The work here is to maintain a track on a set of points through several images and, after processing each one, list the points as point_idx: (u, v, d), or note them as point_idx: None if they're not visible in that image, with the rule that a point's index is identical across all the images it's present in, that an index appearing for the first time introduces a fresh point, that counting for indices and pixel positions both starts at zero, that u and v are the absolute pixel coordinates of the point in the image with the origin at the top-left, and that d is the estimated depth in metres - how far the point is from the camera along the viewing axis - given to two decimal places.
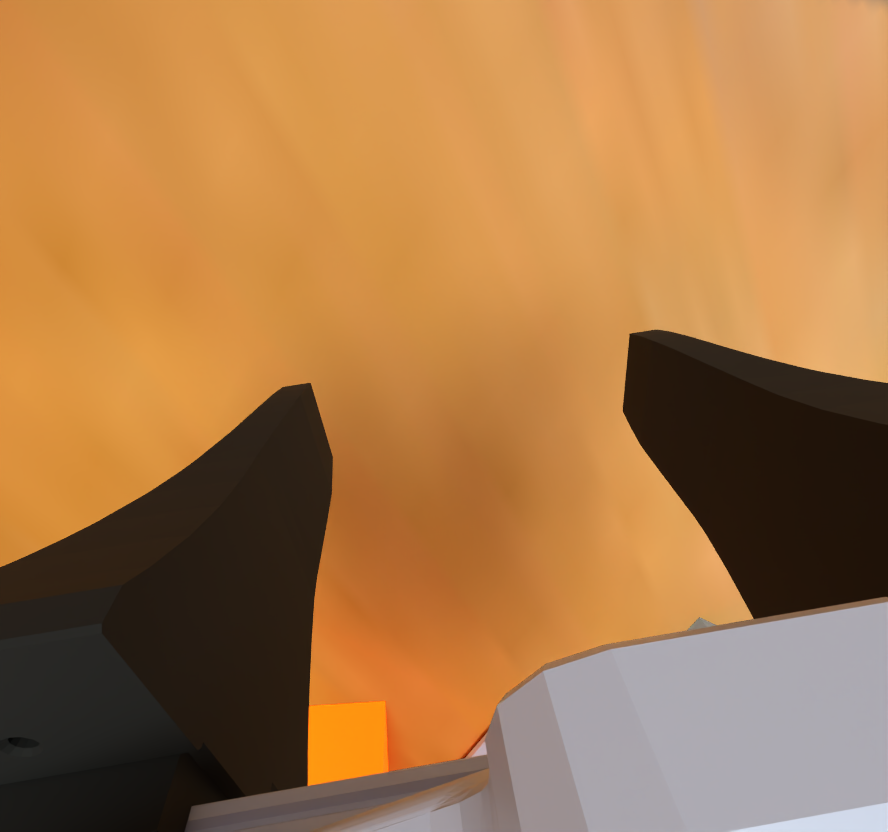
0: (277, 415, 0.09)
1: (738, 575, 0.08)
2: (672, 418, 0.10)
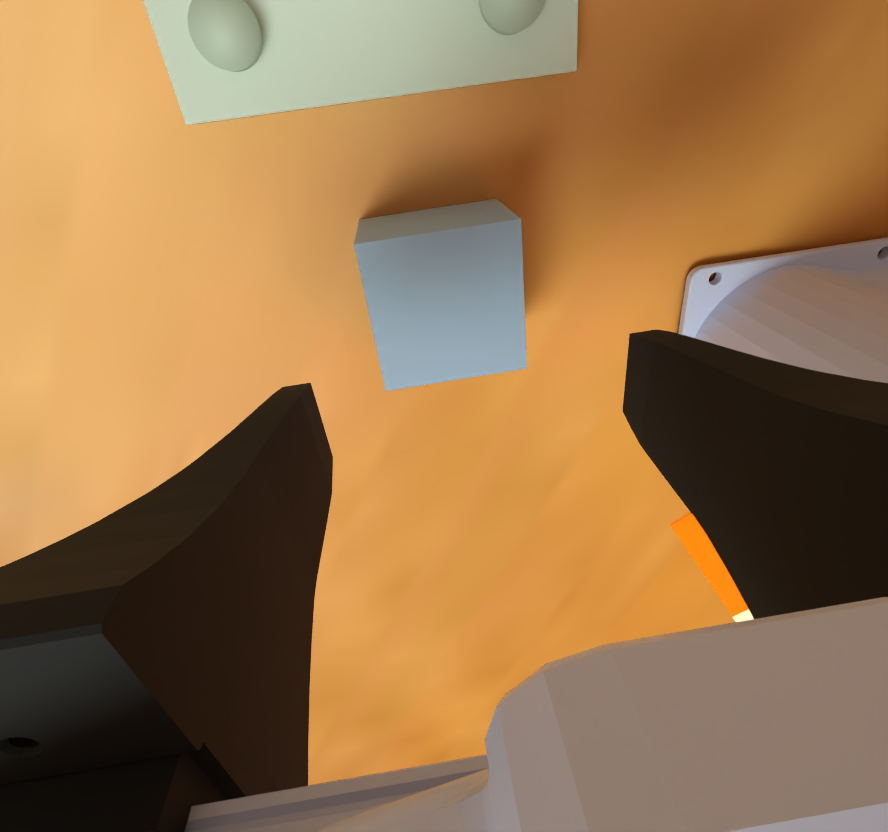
0: (277, 415, 0.09)
1: (738, 575, 0.08)
2: (672, 418, 0.10)
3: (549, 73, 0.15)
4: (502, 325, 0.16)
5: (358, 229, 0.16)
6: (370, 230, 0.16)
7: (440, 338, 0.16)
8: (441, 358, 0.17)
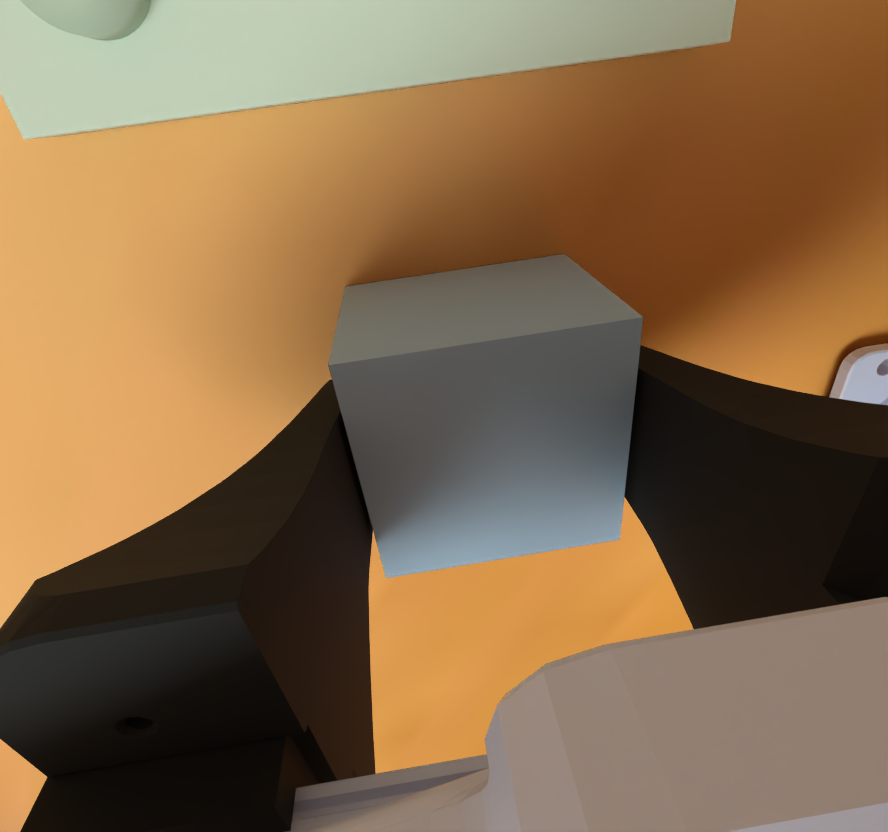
0: (334, 406, 0.09)
1: (680, 585, 0.08)
2: None
3: (682, 46, 0.08)
4: (588, 482, 0.10)
5: (340, 317, 0.09)
6: (361, 322, 0.09)
7: (480, 504, 0.10)
8: (480, 531, 0.10)
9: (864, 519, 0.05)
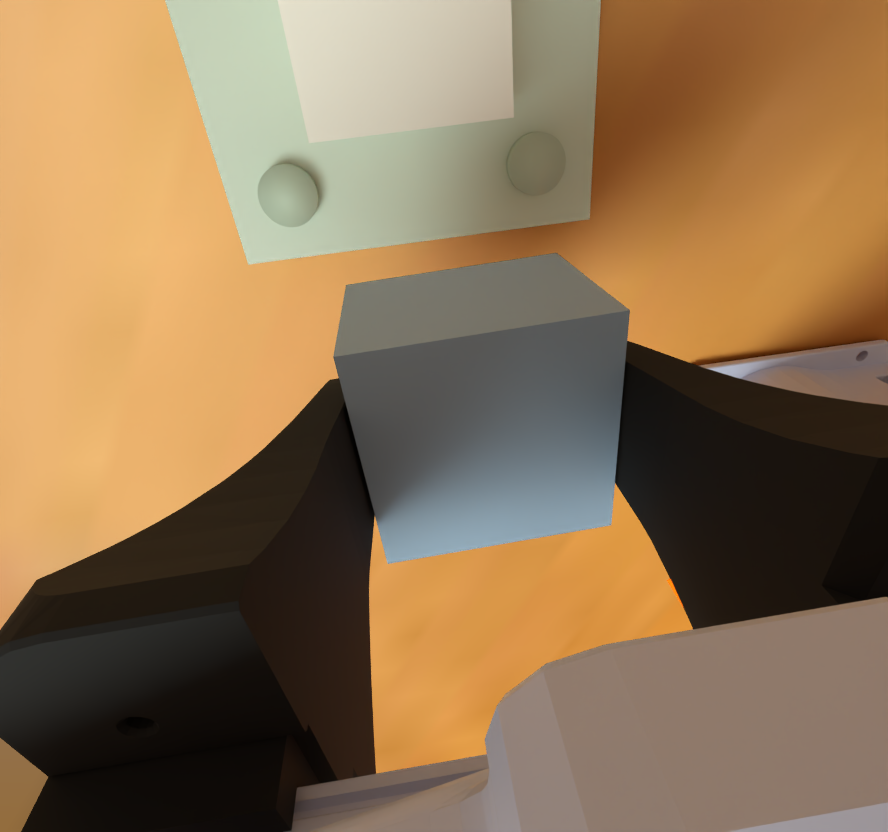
0: (334, 406, 0.09)
1: (680, 585, 0.08)
2: (621, 426, 0.10)
3: (566, 221, 0.17)
4: (580, 469, 0.10)
5: (343, 313, 0.10)
6: (363, 317, 0.10)
7: (478, 491, 0.10)
8: (478, 517, 0.10)
9: (862, 518, 0.05)
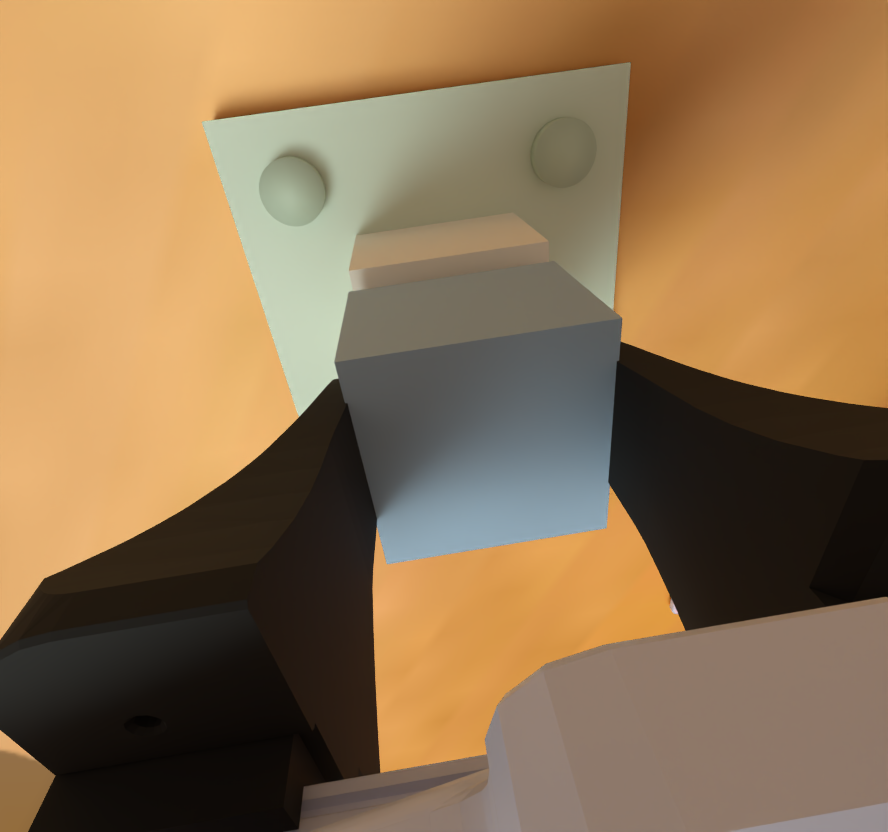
0: (338, 406, 0.09)
1: (672, 586, 0.08)
2: (615, 428, 0.10)
3: None
4: (575, 473, 0.10)
5: (345, 319, 0.10)
6: (364, 323, 0.10)
7: (475, 493, 0.10)
8: (475, 519, 0.11)
9: (849, 521, 0.05)
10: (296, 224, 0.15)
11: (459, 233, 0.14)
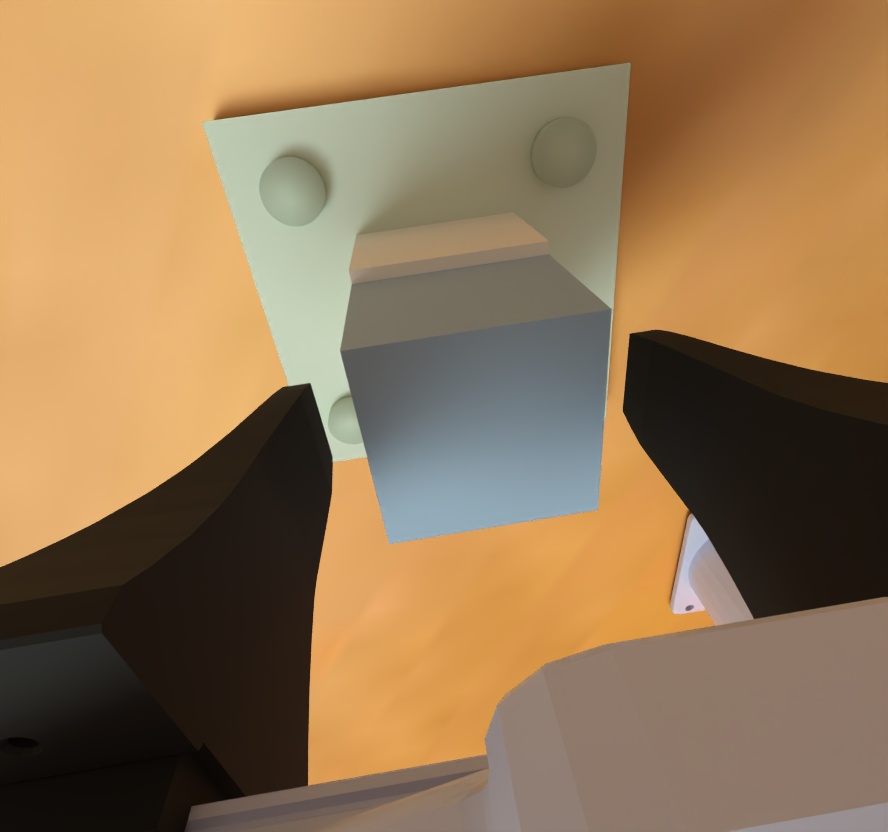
0: (277, 415, 0.09)
1: (738, 575, 0.08)
2: (672, 418, 0.10)
3: None
4: (568, 456, 0.11)
5: (349, 310, 0.11)
6: (367, 314, 0.10)
7: (473, 476, 0.11)
8: (473, 501, 0.11)
9: None
10: (296, 224, 0.15)
11: (459, 233, 0.14)
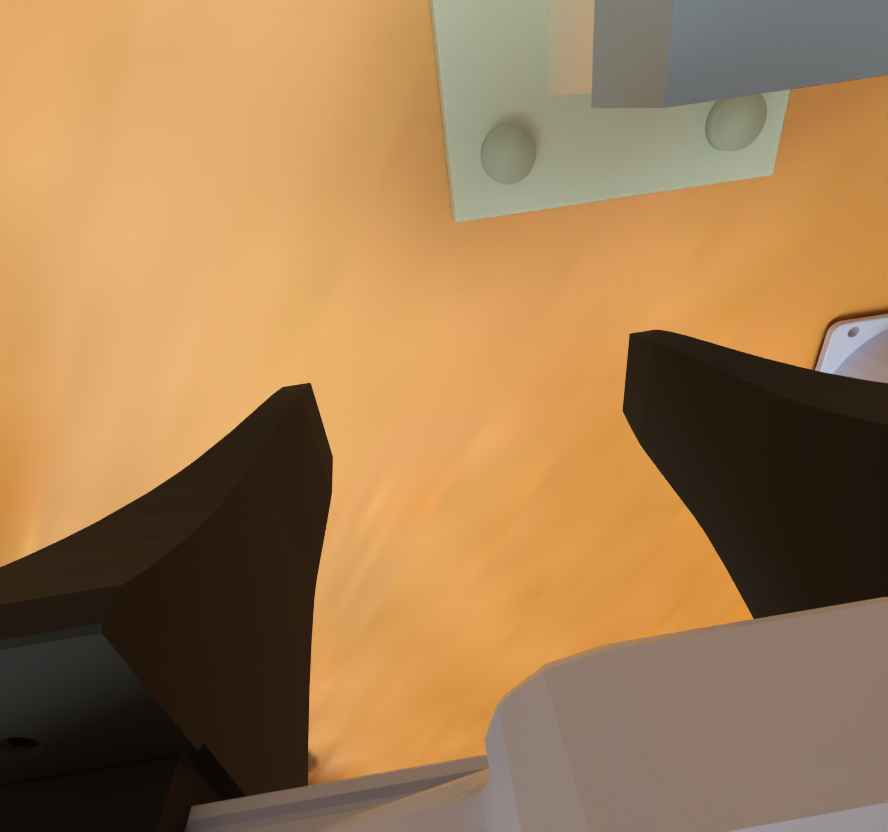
0: (277, 415, 0.09)
1: (738, 575, 0.08)
2: (673, 419, 0.10)
3: (750, 177, 0.18)
4: None
5: None
6: None
7: None
8: (776, 36, 0.09)
9: None
10: None
11: None
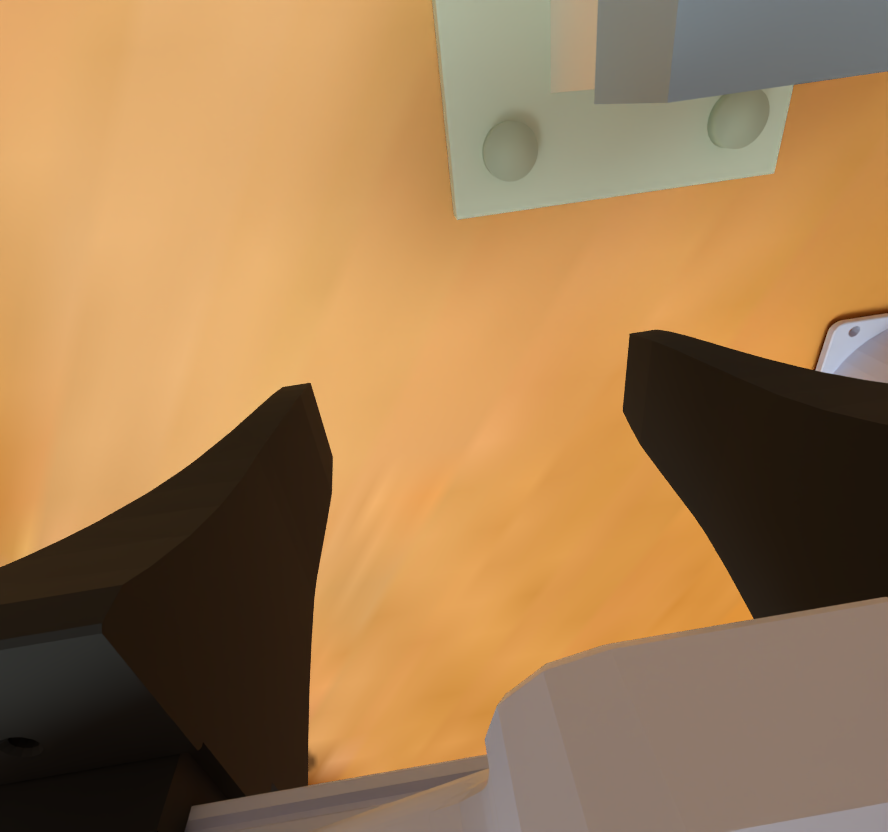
0: (277, 415, 0.09)
1: (739, 575, 0.08)
2: (673, 419, 0.10)
3: (752, 175, 0.18)
4: None
5: None
6: None
7: None
8: (781, 30, 0.09)
9: None
10: None
11: None
